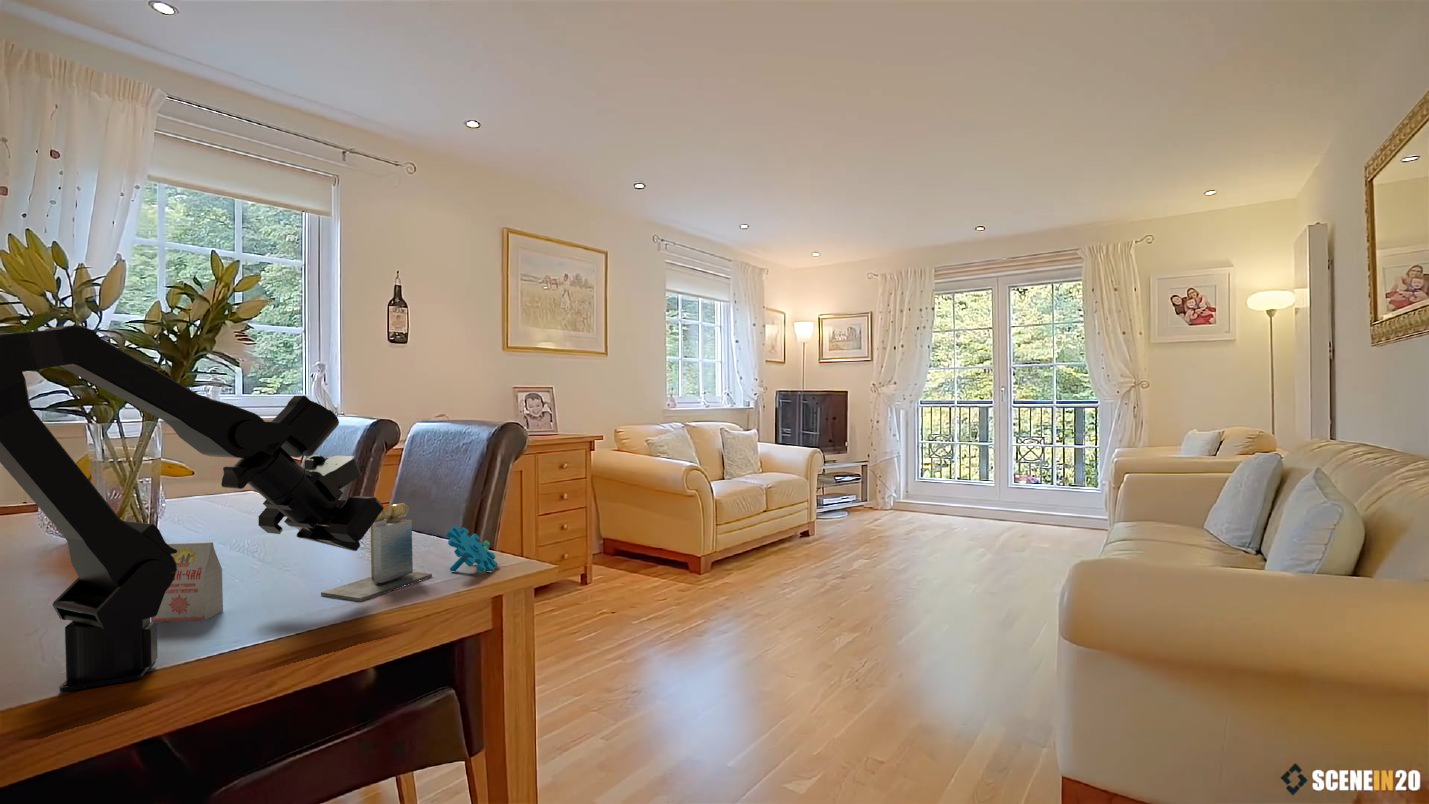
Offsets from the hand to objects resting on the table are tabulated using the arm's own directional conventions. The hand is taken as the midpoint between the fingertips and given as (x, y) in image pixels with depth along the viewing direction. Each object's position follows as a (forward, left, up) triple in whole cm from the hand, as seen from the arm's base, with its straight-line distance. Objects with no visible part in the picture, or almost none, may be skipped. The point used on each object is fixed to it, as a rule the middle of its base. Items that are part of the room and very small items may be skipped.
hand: (356, 548), depth 99 cm
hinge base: (+3, +3, -7) cm, 8 cm away
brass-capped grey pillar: (+5, +5, -7) cm, 10 cm away
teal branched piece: (+17, +5, -7) cm, 19 cm away
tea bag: (-20, +1, -7) cm, 22 cm away
